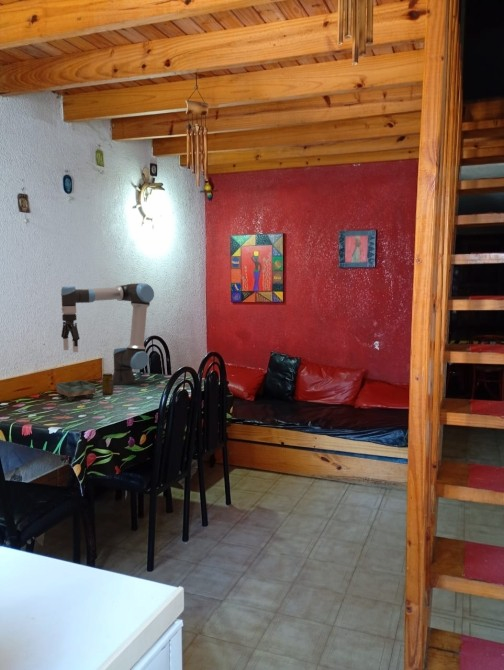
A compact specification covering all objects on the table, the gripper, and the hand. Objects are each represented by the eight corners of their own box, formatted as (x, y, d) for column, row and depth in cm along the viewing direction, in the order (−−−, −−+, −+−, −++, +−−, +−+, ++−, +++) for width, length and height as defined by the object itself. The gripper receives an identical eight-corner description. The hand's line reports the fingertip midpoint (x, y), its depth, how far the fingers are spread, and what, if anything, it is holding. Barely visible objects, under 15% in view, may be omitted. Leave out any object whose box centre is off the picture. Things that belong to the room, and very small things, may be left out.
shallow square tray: (82, 393, 309) (81, 380, 309) (95, 398, 297) (95, 384, 296) (56, 397, 299) (56, 383, 299) (69, 402, 287) (68, 387, 286)
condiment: (110, 392, 313) (110, 372, 312) (117, 394, 307) (116, 374, 306) (99, 394, 309) (98, 373, 308) (105, 396, 302) (104, 375, 301)
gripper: (54, 313, 307) (56, 349, 309) (71, 314, 288) (73, 353, 290) (67, 312, 312) (68, 348, 314) (84, 314, 293) (86, 352, 295)
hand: (70, 351), depth 302 cm, fingers open, 13 cm apart
